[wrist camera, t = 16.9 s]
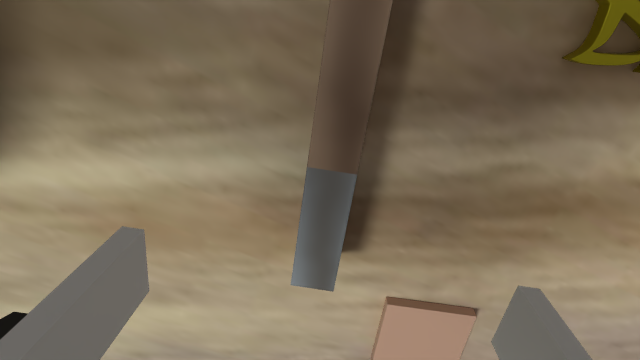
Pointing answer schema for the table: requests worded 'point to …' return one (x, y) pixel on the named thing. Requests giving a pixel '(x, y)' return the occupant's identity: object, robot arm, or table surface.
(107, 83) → the table surface
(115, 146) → the table surface
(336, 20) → the brown and grey bar
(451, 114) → the table surface
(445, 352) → the tile
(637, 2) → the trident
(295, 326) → the table surface
